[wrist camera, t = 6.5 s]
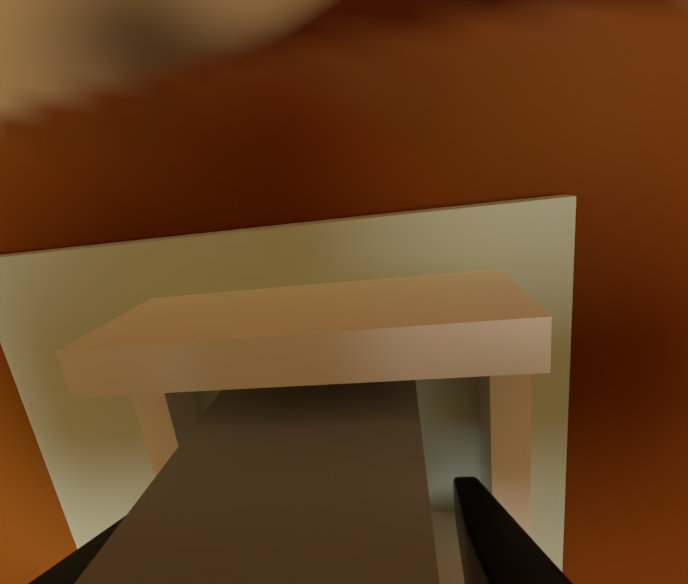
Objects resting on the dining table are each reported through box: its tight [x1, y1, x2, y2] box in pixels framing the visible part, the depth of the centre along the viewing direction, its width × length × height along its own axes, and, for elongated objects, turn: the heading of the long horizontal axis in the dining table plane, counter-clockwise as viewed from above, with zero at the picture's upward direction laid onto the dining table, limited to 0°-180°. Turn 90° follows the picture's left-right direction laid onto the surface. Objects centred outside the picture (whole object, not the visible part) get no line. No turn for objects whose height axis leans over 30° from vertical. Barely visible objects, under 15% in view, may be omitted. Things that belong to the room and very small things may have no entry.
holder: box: [56, 268, 552, 584], centre depth 9 cm, size 9×7×3 cm
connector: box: [74, 380, 439, 584], centre depth 7 cm, size 4×4×7 cm
